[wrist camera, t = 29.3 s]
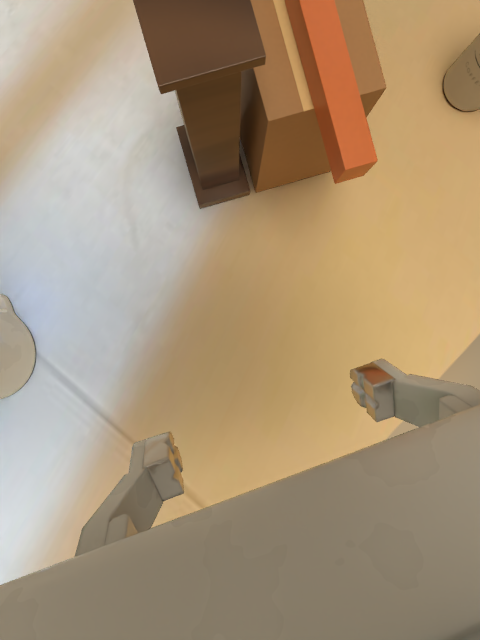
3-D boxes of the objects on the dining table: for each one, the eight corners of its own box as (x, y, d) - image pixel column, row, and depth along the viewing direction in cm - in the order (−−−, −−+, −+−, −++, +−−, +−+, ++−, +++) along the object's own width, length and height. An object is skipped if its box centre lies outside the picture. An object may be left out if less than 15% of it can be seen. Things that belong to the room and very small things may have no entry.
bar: (363, 175, 30) (378, 160, 27) (334, 184, 30) (345, 170, 27) (297, -70, 29) (304, -113, 26) (267, -62, 29) (270, -104, 26)
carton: (330, 171, 48) (386, 87, 30) (255, 192, 48) (268, 121, 30) (308, 95, 48) (353, -37, 30) (234, 116, 48) (233, -3, 30)
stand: (249, 194, 48) (266, 56, 22) (200, 208, 48) (158, 86, 22) (228, 118, 48) (219, -114, 22) (178, 133, 48) (108, -83, 22)
